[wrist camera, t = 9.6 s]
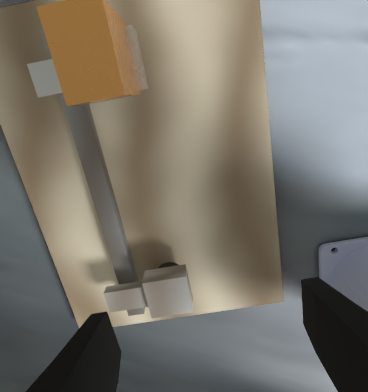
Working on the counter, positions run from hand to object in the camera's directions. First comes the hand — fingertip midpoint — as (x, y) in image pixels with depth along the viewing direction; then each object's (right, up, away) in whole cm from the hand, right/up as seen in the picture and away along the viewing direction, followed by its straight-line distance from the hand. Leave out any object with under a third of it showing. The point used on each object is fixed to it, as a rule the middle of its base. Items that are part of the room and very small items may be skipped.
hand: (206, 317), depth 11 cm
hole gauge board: (-3, +6, +9) cm, 11 cm away
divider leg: (-6, +11, +6) cm, 14 cm away
